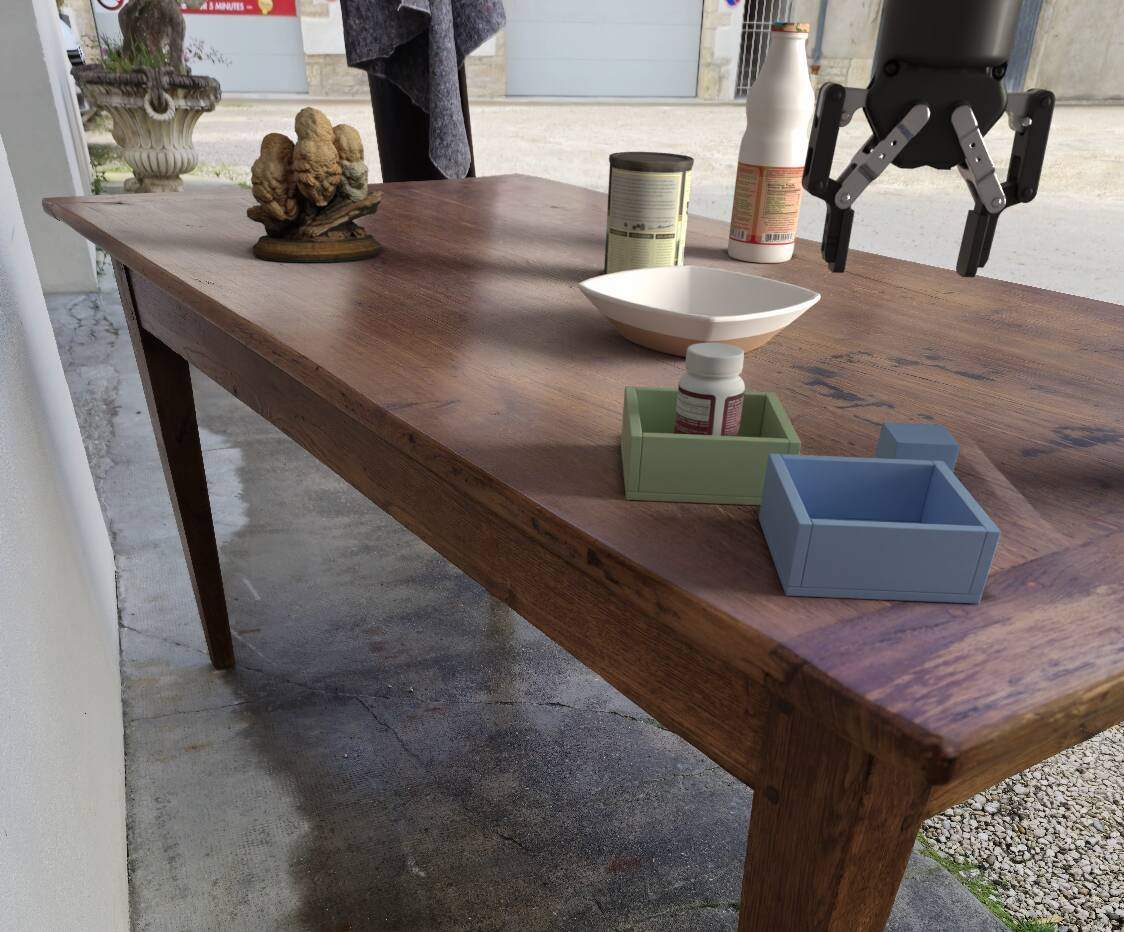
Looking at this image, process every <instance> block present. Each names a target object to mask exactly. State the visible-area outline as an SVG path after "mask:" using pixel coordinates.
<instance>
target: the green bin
mask: <svg viewBox="0 0 1124 932" xmlns="http://www.w3.org/2000/svg"><path fill="white" fill-rule="evenodd" d="M623 394H624V395H623V408H622V421H621V422H622V423H621V434H620V436H621V437H620V447H621V448H620V450H621V461H622V471H623V480H624V481H623V482H624V491H625V500H627V501H643V502H644V501H645V502H647V501H648V502H667V503H669V502H671V503H691V504H692V503H696V504H719V505H722V504H723V505H738V506H739V505H740V506H741V505H742V506H761V500H762V494H763V487H764V481H765V474H766V468H767V462H768V455H769V454H780V455H781V454H789V455H800V453H801V447H802V442H801V440H800V437H799V436H798V434H797V432H796V430H795V428H794V426H793V424H792V422H791V420H790V419H789V416H788V415H787V413H786V410H785V408H784V407H783V405H782V403H781V401H780V399H779V396H778V395H777V393H776V392H775V391H751V390H750V391H748V390H745V391H744V398H743V405H742V412H741V420H740V428H739V435H738V437H737V436H714V435H690V434H674V427H675V417H676V405H677V395H678V387H659V386H658V387H657V386H656V387H655V386H635V385H634V386H632V385H625V386H624V393H623Z"/></svg>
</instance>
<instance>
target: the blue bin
mask: <svg viewBox="0 0 1124 932" xmlns="http://www.w3.org/2000/svg"><path fill="white" fill-rule="evenodd" d="M759 506H760V508H759V512H758V513H759V514H758V521H759V524H760V526H761V530H762V532H763V535H764V538H765V541H766V543H767V546H768V549H769V552H770V555H771V557H772V561H773V563H774V566H775V569H776V572H777V575H778V577H779V581H780V583H781V587H782V589H783V591H784V594H785V596H786V597H805V598H806V597H808V598H829V599H831V598H832V599H836V598H837V599H858V600H881V601H884V600H885V601H904V602H926V603H927V602H928V603H929V602H930V603H954V604H975V605H976V604H977V605H979V604H980V602H981V601H982V600H981V599H982V596H983V593H984V590H985V587H986V583H987V580H988V577H989V573H990V570H991V567H992V563H993V560H994V556H995V553H996V549H997V547H998V543H999V540H1000V537H1001V533H1002V531H1001V530H1000V529H999V528H998V526H997V525H996V524H995V523H994V522H993V520H992V519H991V518H990V517H989V515H988V514H987V513H986V511H984V509H983V508H982V507H981V506H980V504H979V503H978V502H977V500H976V499H975V498H974V497H973V496H972V494H971V493H970V492H969V491H968V490H967V489H966V487H965V486H964V485H963V484H962V482H961V480H959V478H958V477H957V476H956V475H955V474H954V472H953V473H952V471H951V470H950V469H949V468H948V466H947V465H946V464H945V463H944V462H943V461H929V460H905V459H882V458H875V457H859V456H858V457H856V456H855V457H854V456H833V455H831V456H830V455H812V454H811V455H809V454H808V455H807V454H799V455H789V454H781V455H780V454H769V455H768V462H767V468H766V474H765V481H764V487H763V494H762V500H761V505H759Z"/></svg>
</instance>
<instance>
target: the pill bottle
mask: <svg viewBox="0 0 1124 932" xmlns="http://www.w3.org/2000/svg"><path fill="white" fill-rule="evenodd" d="M744 358H745V353H744V351H743V350H742V349H741V348H739V347H736V346H734V345H729V344H723V343H698V344H693V345H691V346H689V347H688V348H687V354H686V357H685V366H684V367H685V371H687V372H684V373H683V374H682V375H681V377H680V379H679V380H678V385H677V388H678V395H677V405H676V417H675V427H674V434H690V435H714V436H737V437H738V435H739V428H740V420H741V412H742V405H743V398H744V391H746V389H745V388H746V387H745V382H744V380H743V378H742V377H741V376H740V374H742V372H743V369H744Z"/></svg>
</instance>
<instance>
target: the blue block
mask: <svg viewBox="0 0 1124 932" xmlns="http://www.w3.org/2000/svg"><path fill="white" fill-rule="evenodd" d="M960 448H961V444H960V443H959V441H958V440H957V439H956V438H955V437H954V436H953V435H952V434H951V433H950V431H949V430H948V429H947V428H946V427H945V426H944V424H933V423H913V422H911V423H910V422H890V421H889V422H888V421H886V422H885V421H882V423H881V426H880V432H879V437H878V442H877V446H876V451H875V455H874V458H882V459H905V460H929V461H943V462H944V463H945V464H946V465H947V466H948V468H949V469H950V470H951V471H952V473H953V474H954V470H955V467H956V464H957V463H956V462H957V459H958V455H959V451H960Z"/></svg>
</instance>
